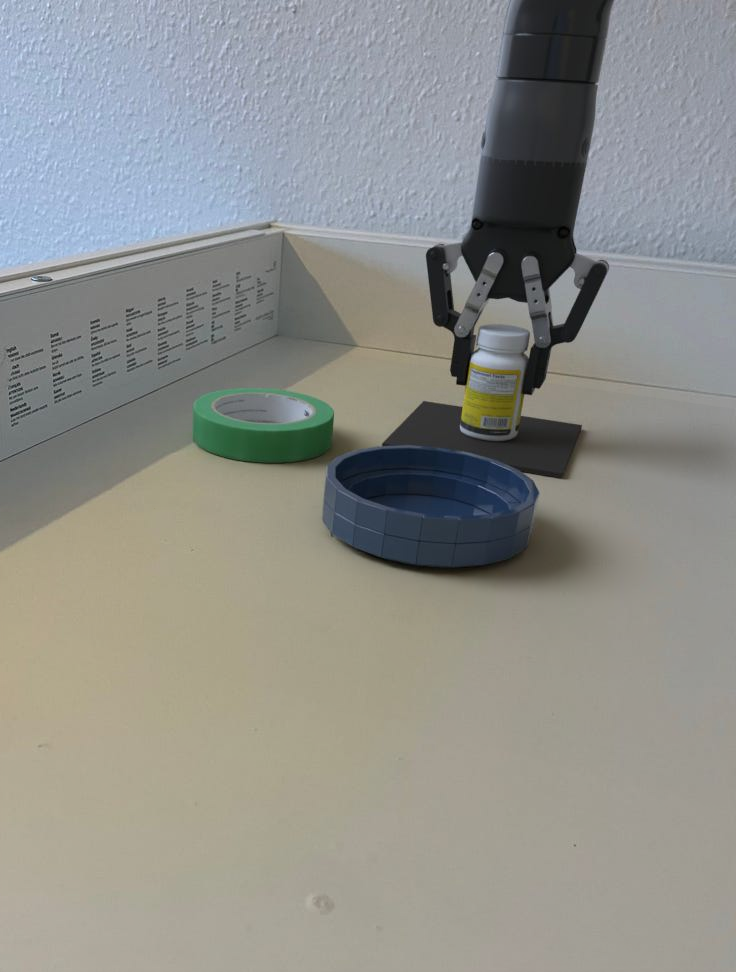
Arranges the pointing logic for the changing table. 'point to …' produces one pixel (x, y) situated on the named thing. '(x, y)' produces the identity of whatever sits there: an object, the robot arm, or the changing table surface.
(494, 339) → the supplement bottle
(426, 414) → the mat
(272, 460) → the tape roll
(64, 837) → the changing table surface
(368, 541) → the dish
